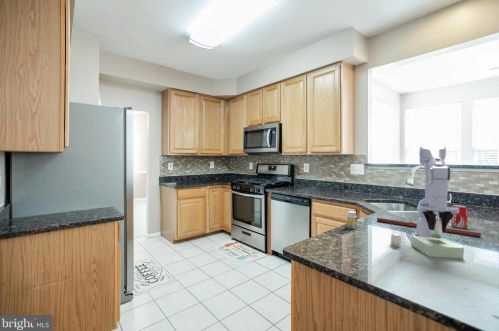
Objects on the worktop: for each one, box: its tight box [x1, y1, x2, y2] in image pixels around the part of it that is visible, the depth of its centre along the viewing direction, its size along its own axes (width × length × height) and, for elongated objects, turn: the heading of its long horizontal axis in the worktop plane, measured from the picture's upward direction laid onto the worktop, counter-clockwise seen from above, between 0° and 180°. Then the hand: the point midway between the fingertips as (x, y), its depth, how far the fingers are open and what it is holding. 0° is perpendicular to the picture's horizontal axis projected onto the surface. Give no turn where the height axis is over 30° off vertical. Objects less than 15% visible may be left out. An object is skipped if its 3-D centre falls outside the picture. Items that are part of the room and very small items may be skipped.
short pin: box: [390, 233, 402, 248], centre depth 104 cm, size 4×4×4 cm
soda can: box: [450, 204, 469, 229], centre depth 134 cm, size 7×7×12 cm
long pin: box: [431, 217, 443, 238], centre depth 97 cm, size 4×4×8 cm
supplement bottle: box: [346, 210, 358, 229], centre depth 130 cm, size 5×5×8 cm
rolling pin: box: [376, 217, 482, 238], centre depth 131 cm, size 45×3×3 cm, turn 54°
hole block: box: [411, 235, 465, 260], centre depth 97 cm, size 12×12×4 cm
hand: (436, 229), depth 97 cm, fingers closed on long pin, 4 cm apart
